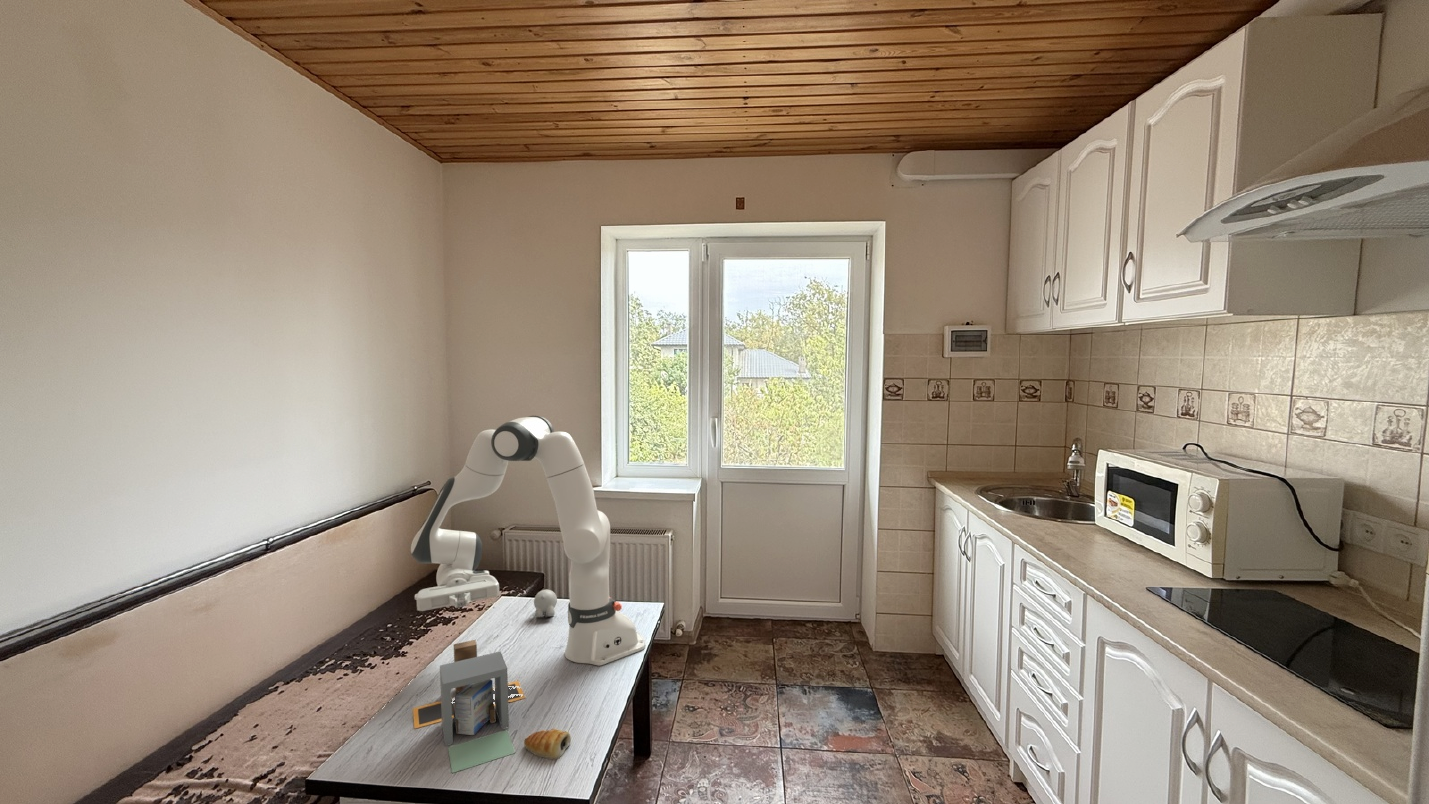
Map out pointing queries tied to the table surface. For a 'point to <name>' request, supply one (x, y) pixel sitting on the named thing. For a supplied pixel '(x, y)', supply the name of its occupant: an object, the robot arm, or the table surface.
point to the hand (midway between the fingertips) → (461, 603)
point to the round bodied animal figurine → (545, 603)
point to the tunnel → (470, 674)
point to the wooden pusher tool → (463, 653)
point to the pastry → (548, 743)
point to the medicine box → (473, 706)
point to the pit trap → (433, 711)
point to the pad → (480, 751)
